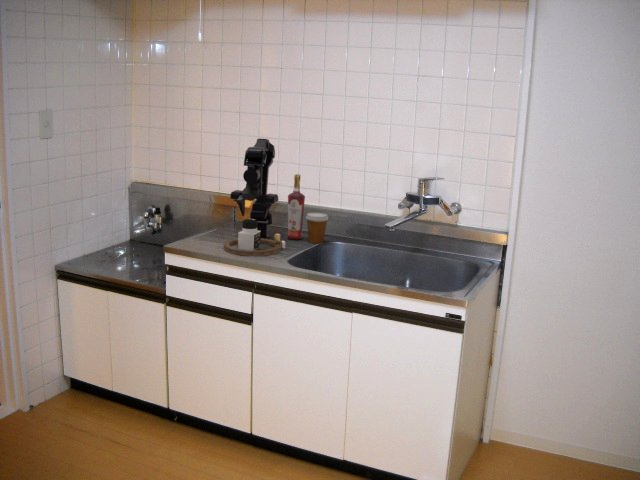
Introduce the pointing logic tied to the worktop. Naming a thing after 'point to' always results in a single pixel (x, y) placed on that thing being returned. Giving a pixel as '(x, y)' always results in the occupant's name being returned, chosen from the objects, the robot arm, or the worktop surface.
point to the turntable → (254, 253)
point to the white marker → (283, 244)
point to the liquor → (295, 210)
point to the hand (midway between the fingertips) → (253, 217)
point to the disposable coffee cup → (316, 227)
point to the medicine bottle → (249, 235)
